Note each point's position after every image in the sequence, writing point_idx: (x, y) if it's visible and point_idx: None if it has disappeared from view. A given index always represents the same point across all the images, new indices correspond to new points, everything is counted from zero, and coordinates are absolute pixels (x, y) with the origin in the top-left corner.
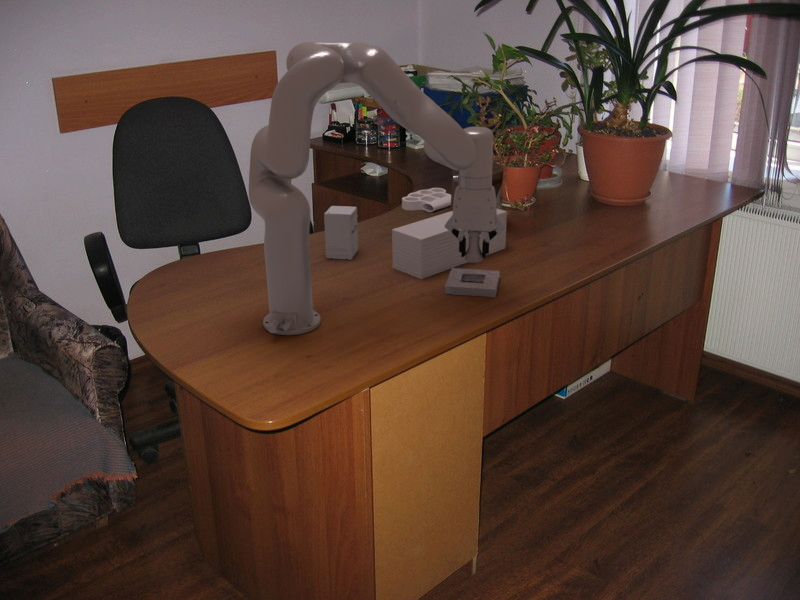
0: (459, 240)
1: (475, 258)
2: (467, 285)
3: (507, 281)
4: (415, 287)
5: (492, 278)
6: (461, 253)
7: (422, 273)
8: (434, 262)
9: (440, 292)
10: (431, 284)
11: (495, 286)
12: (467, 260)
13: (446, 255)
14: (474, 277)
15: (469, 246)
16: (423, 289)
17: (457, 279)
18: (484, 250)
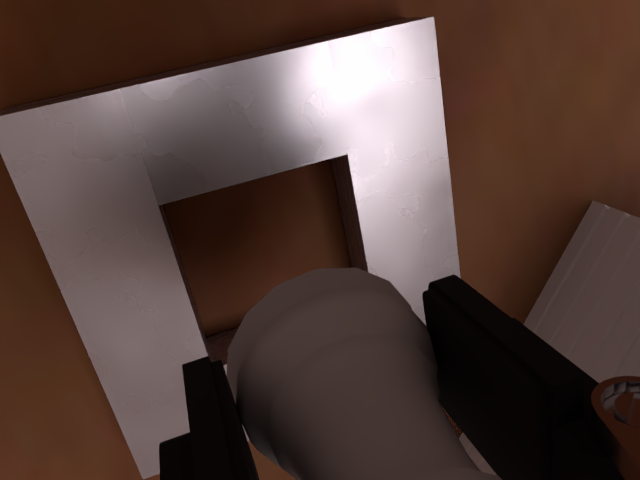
0: (623, 386)
1: (290, 308)
2: (267, 107)
3: (66, 424)
4: (606, 58)
5: (131, 333)
6: (472, 289)
7: (615, 220)
8: (592, 339)
9: (440, 37)
10: (523, 149)
11: (24, 189)
12: (369, 273)
13: None
14: None
15: (431, 401)
16: (555, 44)
17: (380, 193)
18: (200, 423)
